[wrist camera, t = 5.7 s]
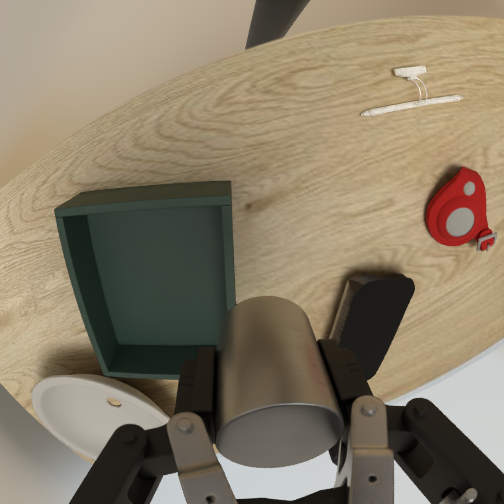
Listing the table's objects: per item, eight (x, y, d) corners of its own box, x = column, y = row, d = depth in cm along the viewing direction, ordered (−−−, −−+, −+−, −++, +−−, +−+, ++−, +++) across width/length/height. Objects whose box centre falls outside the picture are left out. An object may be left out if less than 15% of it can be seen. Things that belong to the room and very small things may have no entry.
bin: (81, 192, 28) (53, 209, 23) (231, 180, 29) (231, 195, 24) (117, 343, 36) (104, 376, 31) (238, 343, 37) (239, 379, 32)
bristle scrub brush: (346, 262, 34) (358, 278, 30) (407, 268, 35) (422, 283, 31) (311, 369, 40) (317, 389, 37) (366, 368, 41) (374, 386, 38)
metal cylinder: (213, 297, 14) (206, 408, 8) (313, 291, 14) (357, 393, 8) (221, 369, 15) (221, 471, 10) (306, 363, 16) (333, 459, 10)
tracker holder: (419, 248, 32) (448, 169, 26) (410, 227, 36) (434, 154, 30) (494, 263, 31) (526, 196, 25) (483, 244, 35) (509, 180, 28)
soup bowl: (27, 331, 35) (7, 360, 29) (185, 354, 38) (180, 392, 32) (71, 427, 45) (61, 454, 39) (193, 447, 47) (191, 477, 41)
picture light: (360, 118, 27) (369, 118, 25) (348, 76, 26) (356, 74, 24) (461, 100, 26) (472, 100, 25) (452, 64, 25) (463, 63, 23)
